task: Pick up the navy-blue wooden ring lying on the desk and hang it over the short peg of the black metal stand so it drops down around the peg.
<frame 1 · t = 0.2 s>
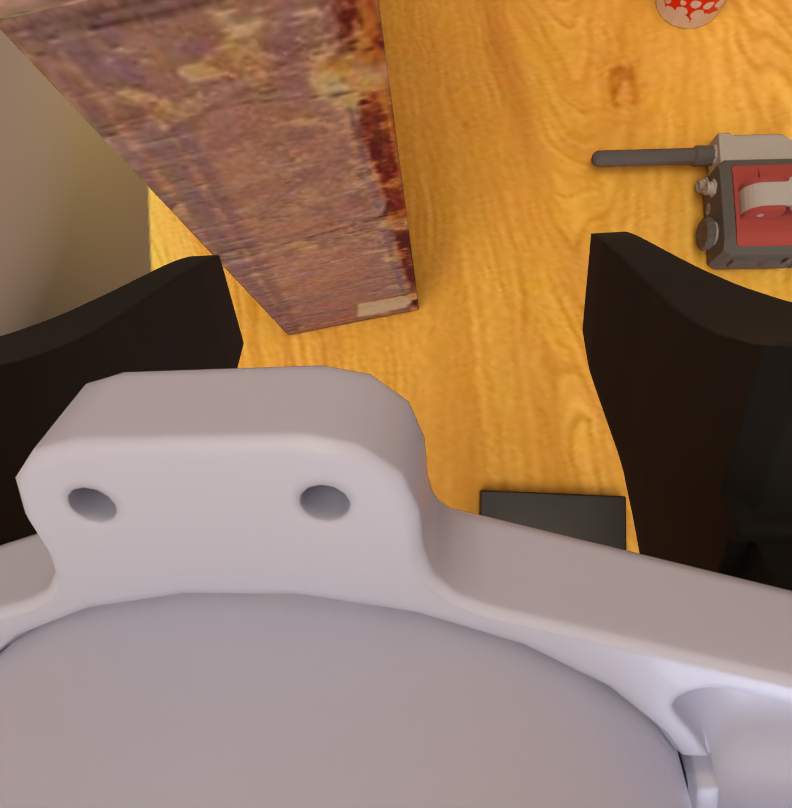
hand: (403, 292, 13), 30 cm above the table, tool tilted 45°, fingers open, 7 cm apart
book: (326, 160, 47), on the table
walkie-talkie: (738, 211, 44), on the table
beverage cup: (687, 2, 46), on the table
peg stand: (549, 564, 41), on the table
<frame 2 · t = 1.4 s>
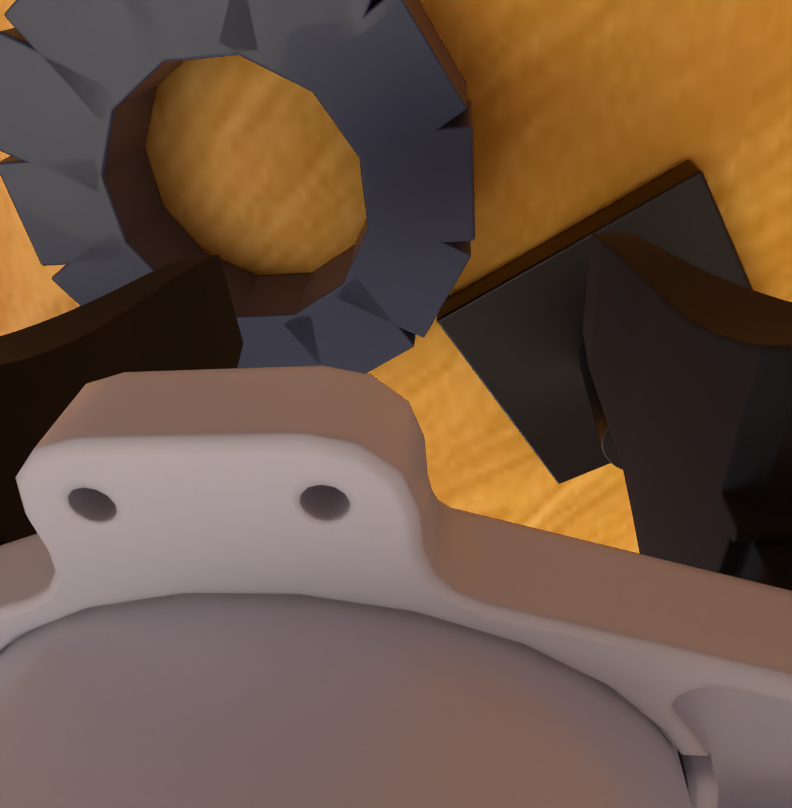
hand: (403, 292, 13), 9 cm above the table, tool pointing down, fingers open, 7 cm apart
hoop: (262, 169, 20), on the table
peg stand: (611, 337, 23), on the table
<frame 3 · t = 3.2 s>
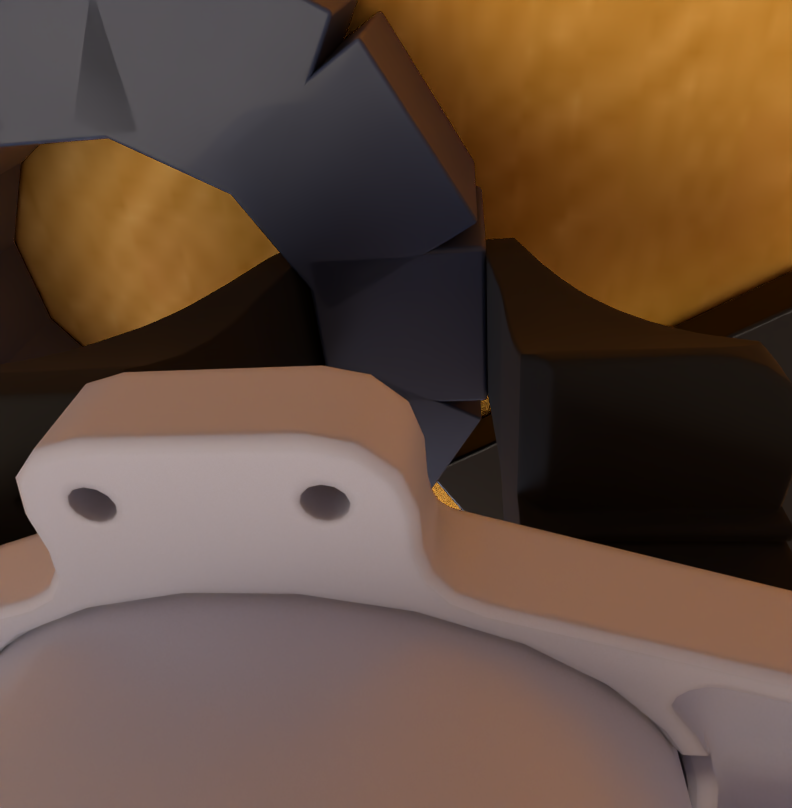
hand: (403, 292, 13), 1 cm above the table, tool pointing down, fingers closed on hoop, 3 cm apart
hoop: (184, 273, 14), on the table, touching gripper
peg stand: (665, 484, 17), on the table
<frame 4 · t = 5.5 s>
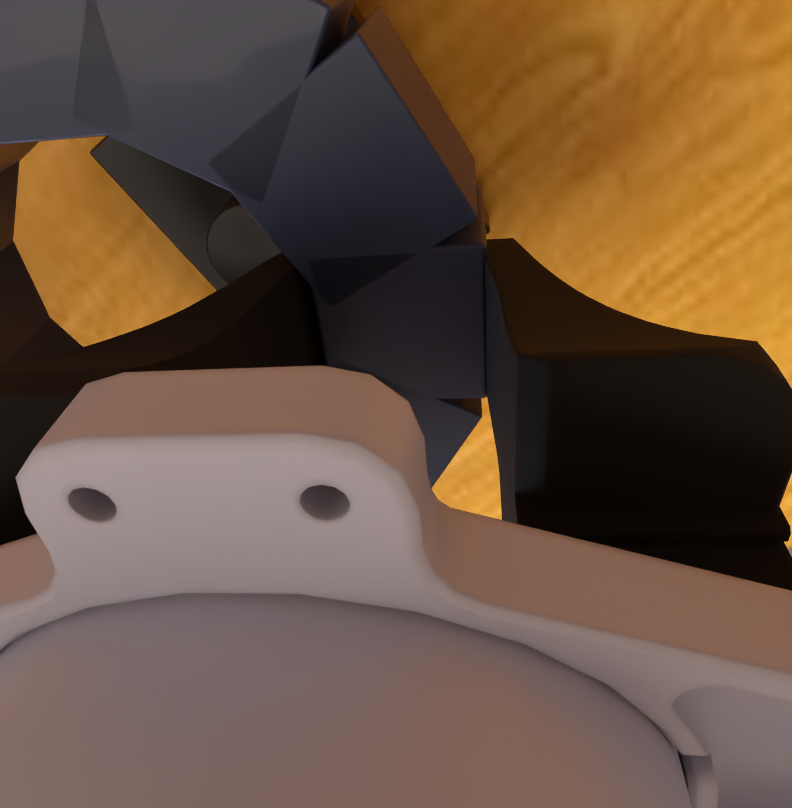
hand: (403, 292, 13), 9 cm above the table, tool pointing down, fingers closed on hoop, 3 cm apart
hoop: (183, 272, 14), point 8 cm above the table, touching gripper
peg stand: (299, 180, 21), on the table
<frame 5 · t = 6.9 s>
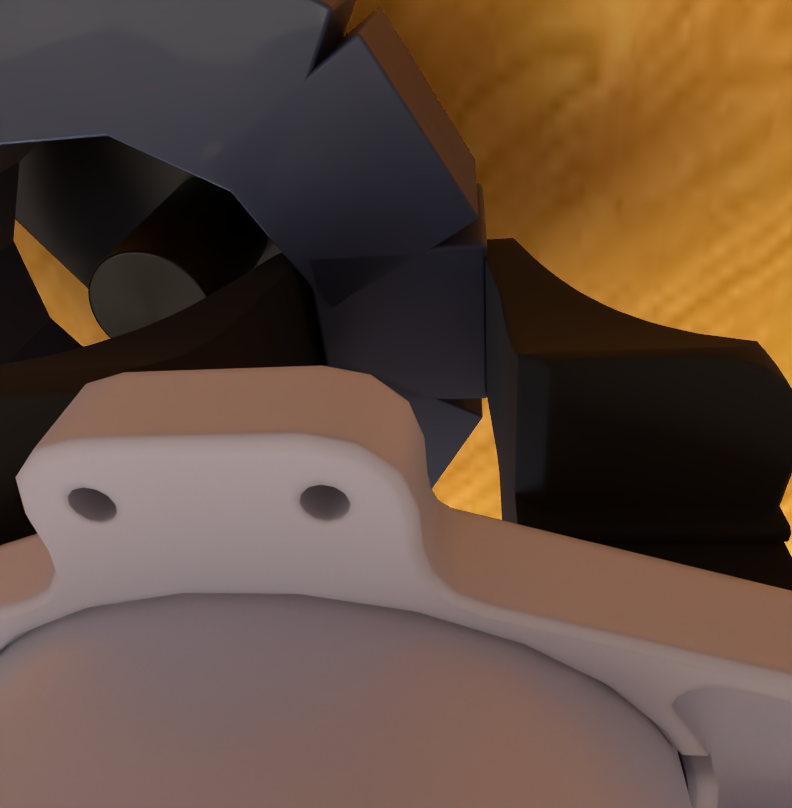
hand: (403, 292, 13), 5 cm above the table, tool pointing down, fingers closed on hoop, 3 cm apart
hoop: (183, 272, 14), point 4 cm above the table, touching gripper
peg stand: (231, 208, 18), on the table
when the fingers open (3 cm above the table, at t = 8.0 s): hoop stays where it is, resting on peg stand.
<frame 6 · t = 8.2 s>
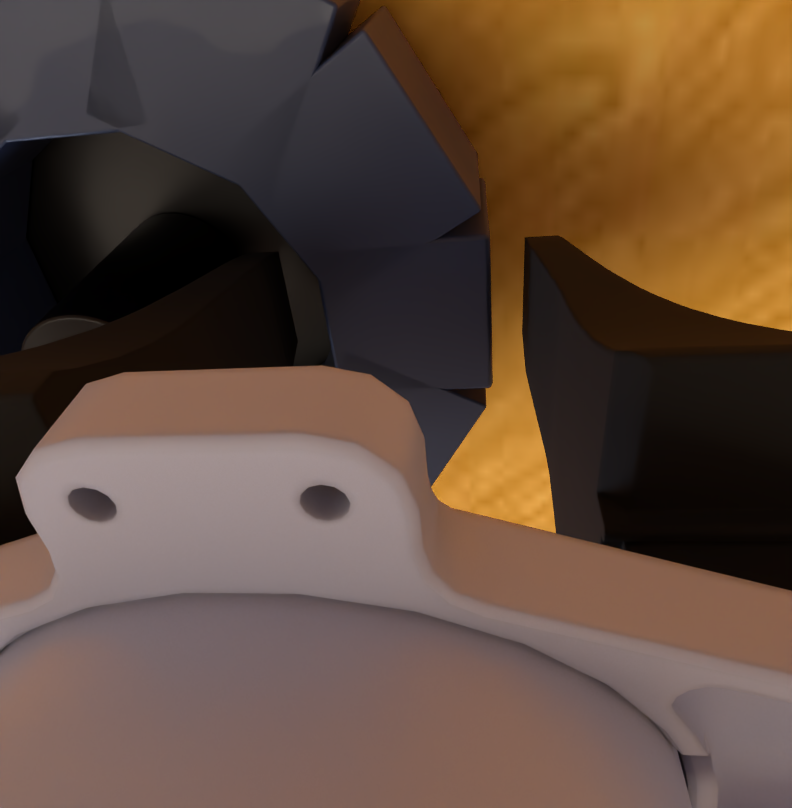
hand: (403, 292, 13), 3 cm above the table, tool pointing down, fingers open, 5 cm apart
hoop: (192, 267, 15), point 1 cm above the table, touching peg stand
peg stand: (202, 246, 16), on the table
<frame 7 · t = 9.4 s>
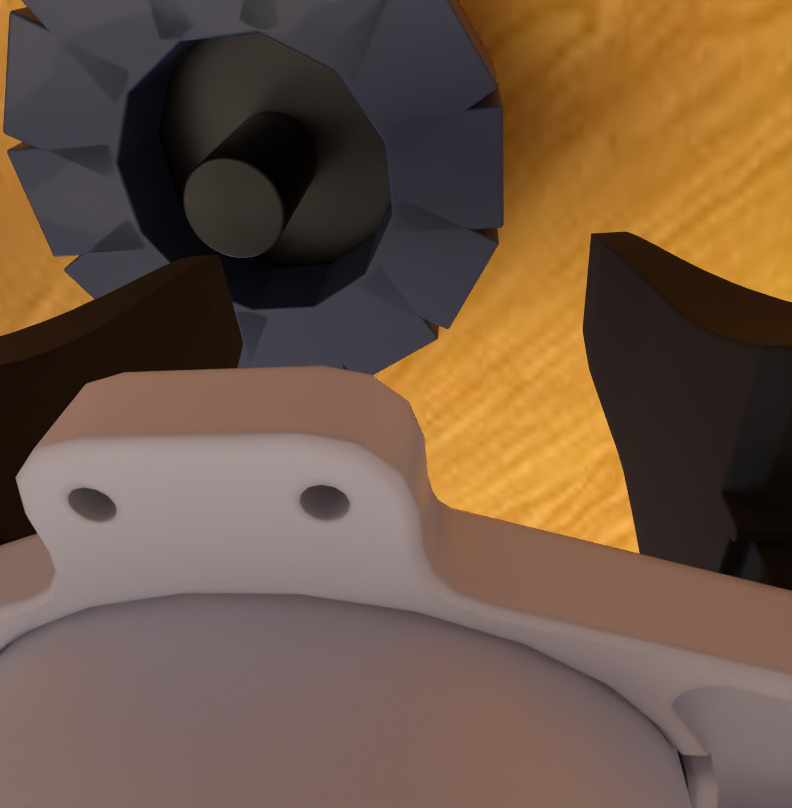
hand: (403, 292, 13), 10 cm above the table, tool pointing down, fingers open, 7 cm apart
hoop: (280, 156, 20), point 1 cm above the table, touching peg stand
peg stand: (283, 145, 21), on the table
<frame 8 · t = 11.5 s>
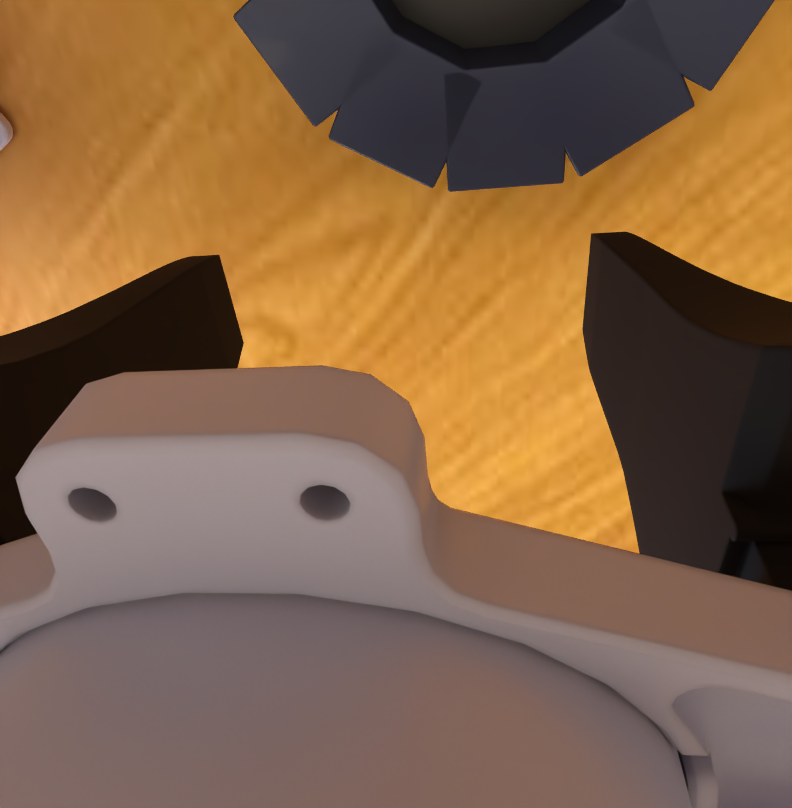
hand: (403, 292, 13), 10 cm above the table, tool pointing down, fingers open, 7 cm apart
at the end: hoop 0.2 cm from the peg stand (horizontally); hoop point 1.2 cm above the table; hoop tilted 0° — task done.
